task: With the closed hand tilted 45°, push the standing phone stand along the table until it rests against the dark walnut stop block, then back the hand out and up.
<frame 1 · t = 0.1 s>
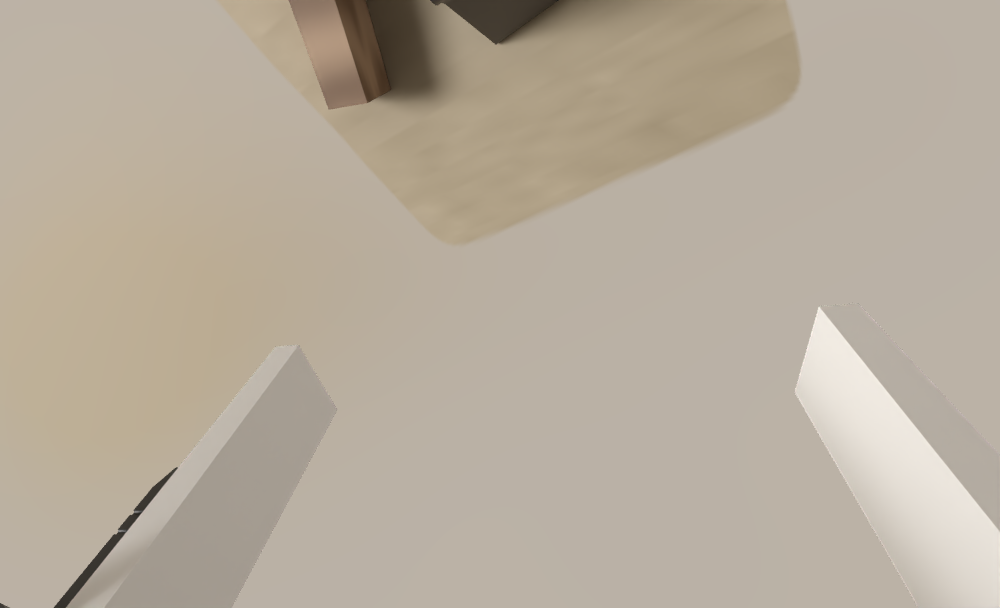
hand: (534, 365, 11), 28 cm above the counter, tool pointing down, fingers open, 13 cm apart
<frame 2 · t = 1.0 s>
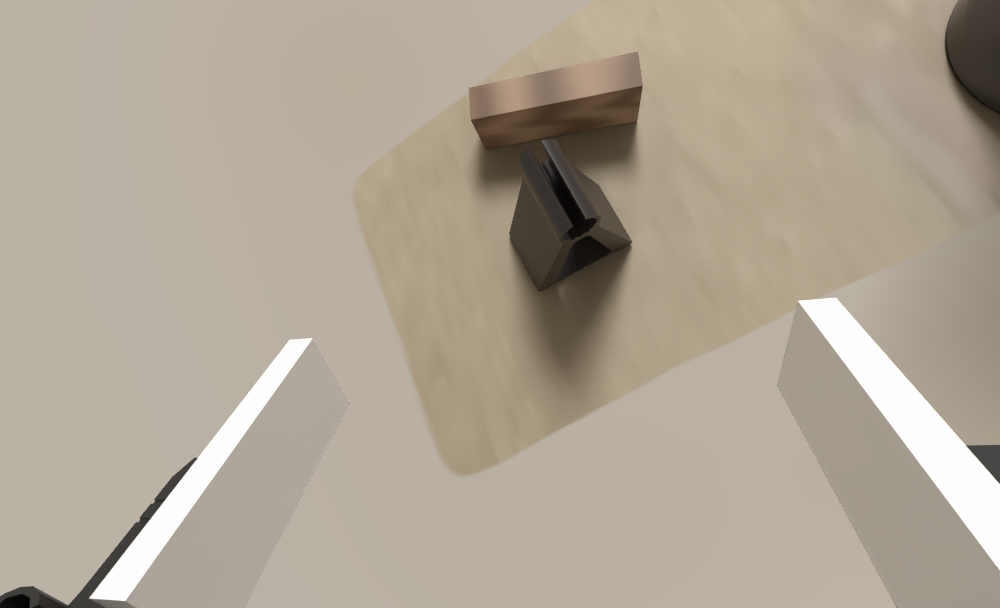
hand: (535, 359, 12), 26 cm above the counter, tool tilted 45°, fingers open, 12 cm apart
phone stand: (569, 239, 39), on the counter
stop block: (557, 120, 40), on the counter
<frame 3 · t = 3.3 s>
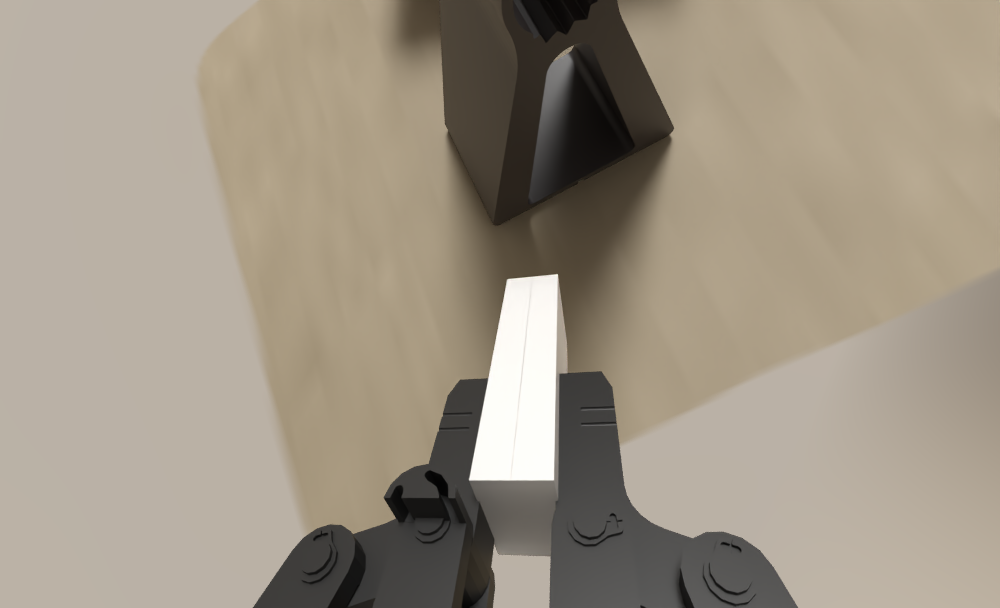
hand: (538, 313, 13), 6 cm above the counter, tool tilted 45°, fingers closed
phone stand: (553, 132, 21), on the counter
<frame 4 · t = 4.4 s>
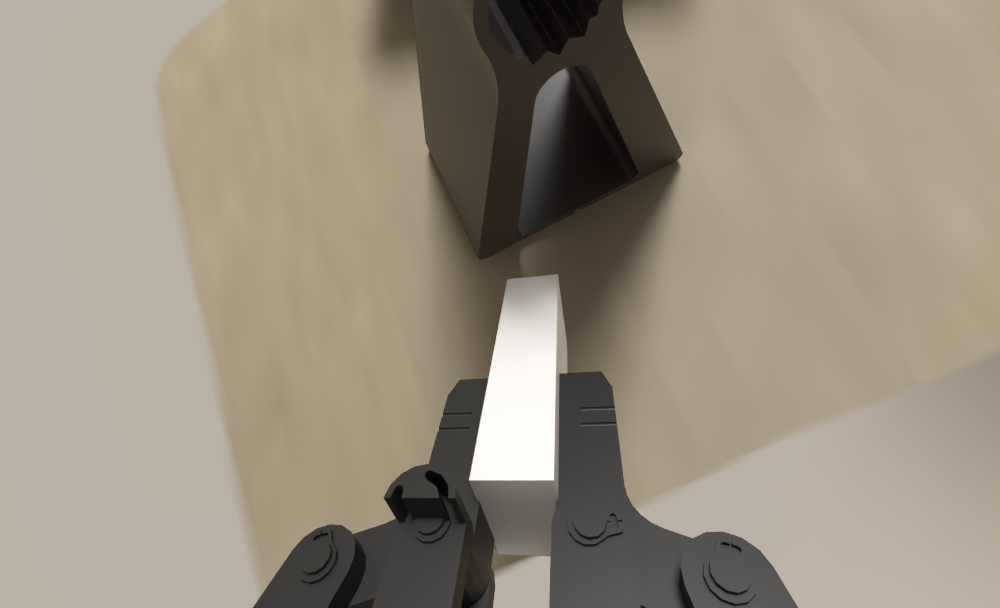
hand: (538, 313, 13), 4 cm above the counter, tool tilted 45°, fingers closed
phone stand: (546, 155, 19), on the counter
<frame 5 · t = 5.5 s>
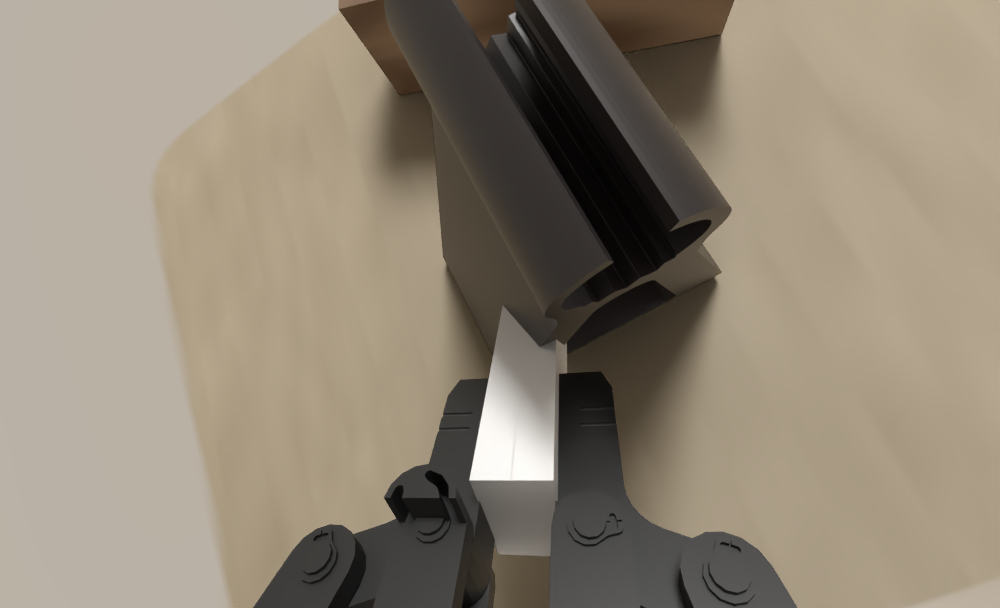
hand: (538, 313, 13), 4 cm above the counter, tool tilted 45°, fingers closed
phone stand: (573, 267, 18), on the counter, touching gripper
stop block: (546, 36, 19), on the counter
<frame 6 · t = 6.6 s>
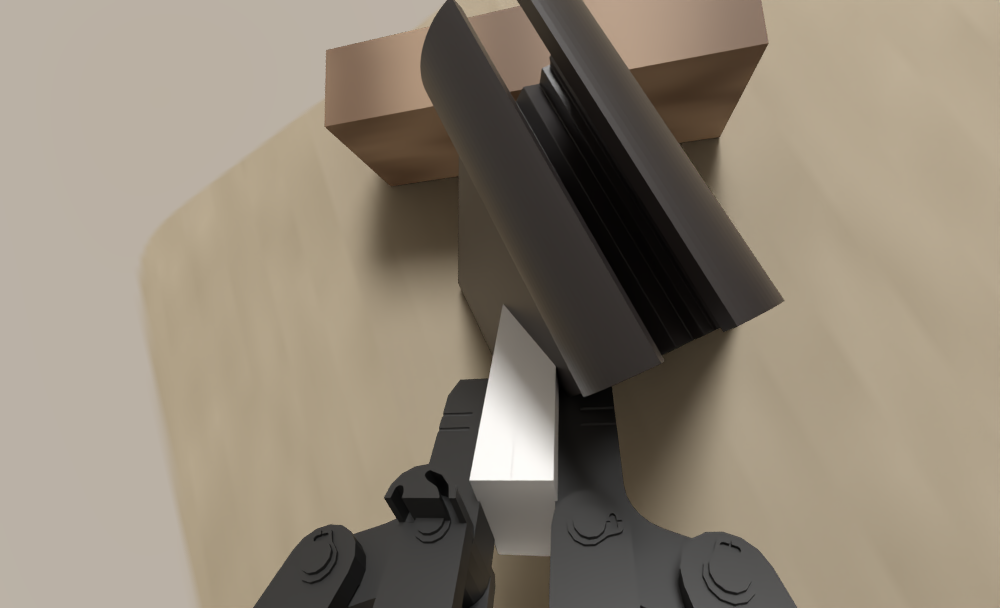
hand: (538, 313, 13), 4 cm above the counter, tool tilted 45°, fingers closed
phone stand: (589, 297, 17), on the counter, touching gripper
stop block: (540, 131, 19), on the counter
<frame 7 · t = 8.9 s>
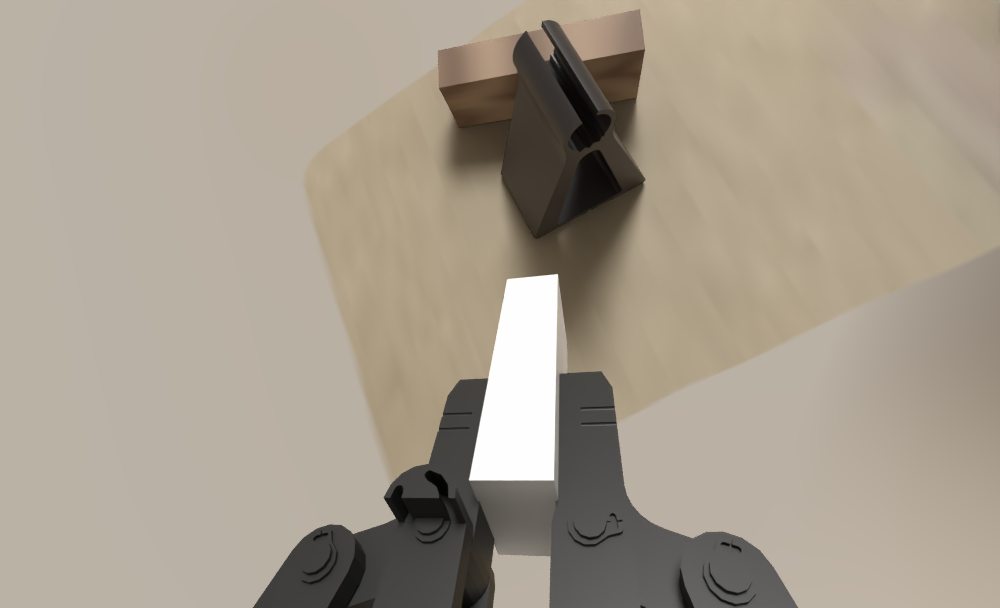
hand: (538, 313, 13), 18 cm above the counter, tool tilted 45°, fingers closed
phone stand: (570, 180, 33), on the counter
stop block: (543, 96, 34), on the counter
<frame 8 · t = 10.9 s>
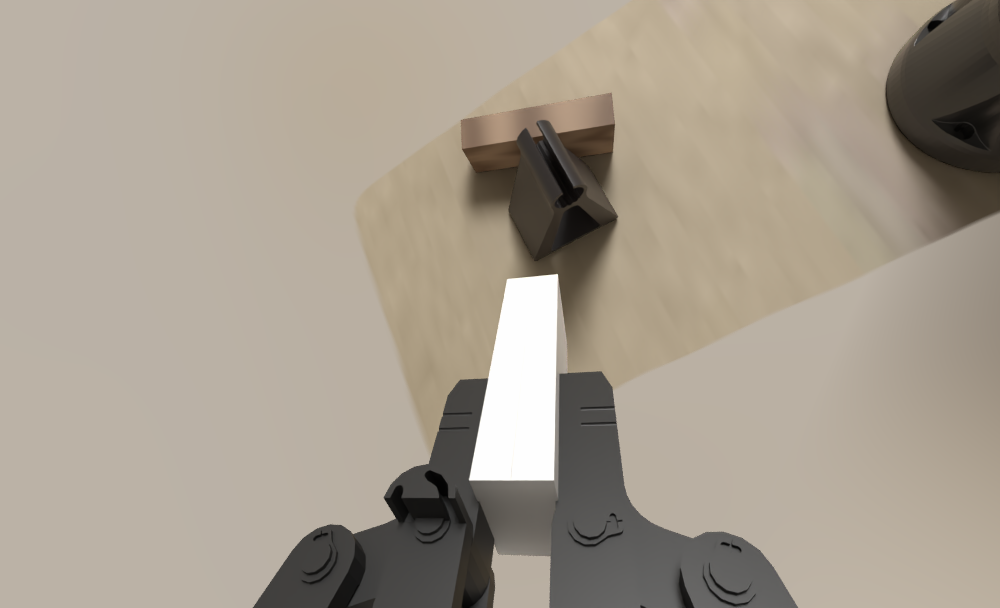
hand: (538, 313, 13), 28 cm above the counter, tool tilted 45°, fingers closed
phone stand: (562, 215, 43), on the counter
stop block: (541, 149, 44), on the counter
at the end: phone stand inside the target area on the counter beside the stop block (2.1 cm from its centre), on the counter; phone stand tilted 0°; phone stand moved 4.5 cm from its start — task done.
